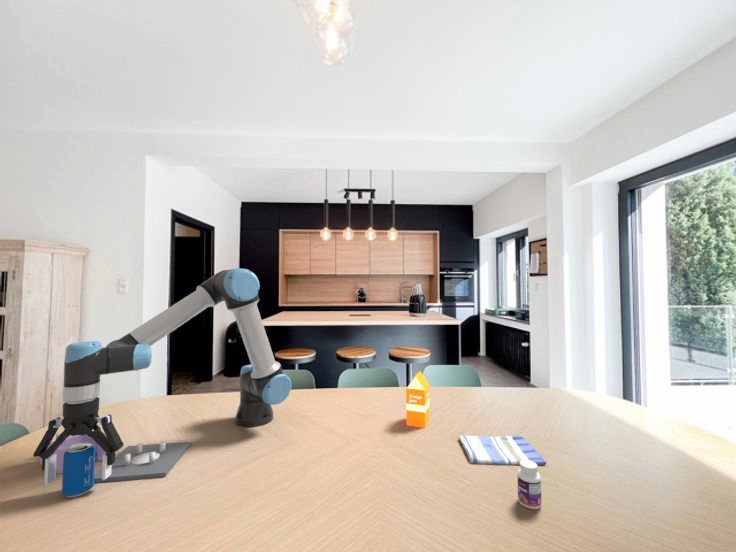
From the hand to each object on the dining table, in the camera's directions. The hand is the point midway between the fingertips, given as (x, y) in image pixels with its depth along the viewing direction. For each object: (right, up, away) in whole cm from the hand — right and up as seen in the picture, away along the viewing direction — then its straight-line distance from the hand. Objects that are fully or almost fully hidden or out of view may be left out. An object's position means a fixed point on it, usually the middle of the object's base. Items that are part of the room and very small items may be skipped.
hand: (78, 479), depth 89 cm
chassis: (+8, -4, +15) cm, 18 cm away
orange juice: (+99, -5, +46) cm, 109 cm away
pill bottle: (+119, -3, -5) cm, 119 cm away
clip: (-16, -5, +16) cm, 23 cm away
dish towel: (+122, -5, +22) cm, 124 cm away
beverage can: (0, -4, 0) cm, 4 cm away
